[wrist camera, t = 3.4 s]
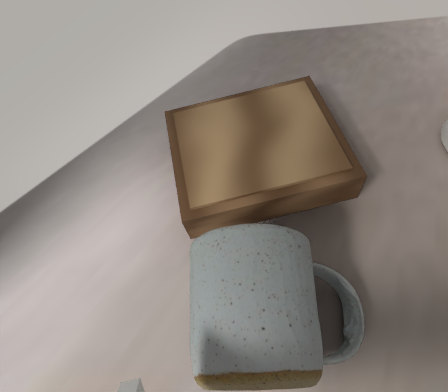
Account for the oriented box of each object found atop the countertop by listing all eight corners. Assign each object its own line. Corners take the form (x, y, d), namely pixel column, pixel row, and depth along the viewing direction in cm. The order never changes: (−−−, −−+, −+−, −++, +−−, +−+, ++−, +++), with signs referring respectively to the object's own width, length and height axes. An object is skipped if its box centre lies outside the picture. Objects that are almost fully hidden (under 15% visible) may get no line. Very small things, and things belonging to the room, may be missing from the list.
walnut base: (190, 238, 26) (180, 220, 23) (172, 133, 32) (163, 109, 29) (357, 197, 26) (368, 173, 23) (306, 100, 32) (309, 73, 29)
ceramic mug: (202, 393, 20) (172, 394, 13) (201, 267, 24) (178, 222, 18) (374, 384, 19) (431, 381, 13) (341, 256, 23) (371, 205, 17)
